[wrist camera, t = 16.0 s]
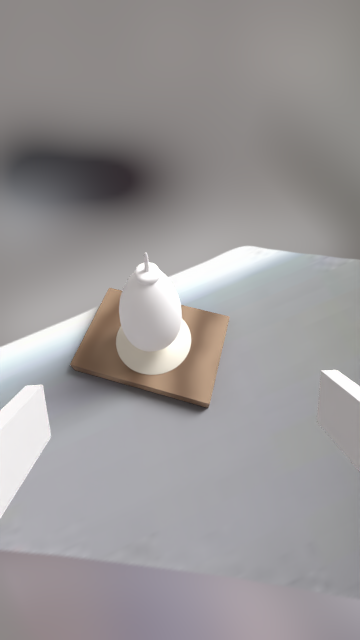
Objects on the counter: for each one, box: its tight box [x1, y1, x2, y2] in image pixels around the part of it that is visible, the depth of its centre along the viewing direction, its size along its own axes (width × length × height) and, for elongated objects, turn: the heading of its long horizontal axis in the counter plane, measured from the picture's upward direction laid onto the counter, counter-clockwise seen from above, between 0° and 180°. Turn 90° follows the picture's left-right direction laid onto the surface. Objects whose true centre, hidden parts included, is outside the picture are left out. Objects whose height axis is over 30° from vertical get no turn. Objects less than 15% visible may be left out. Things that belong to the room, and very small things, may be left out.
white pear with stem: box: [119, 252, 182, 352], centre depth 36 cm, size 8×8×18 cm
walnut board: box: [70, 288, 229, 408], centre depth 44 cm, size 20×14×2 cm
